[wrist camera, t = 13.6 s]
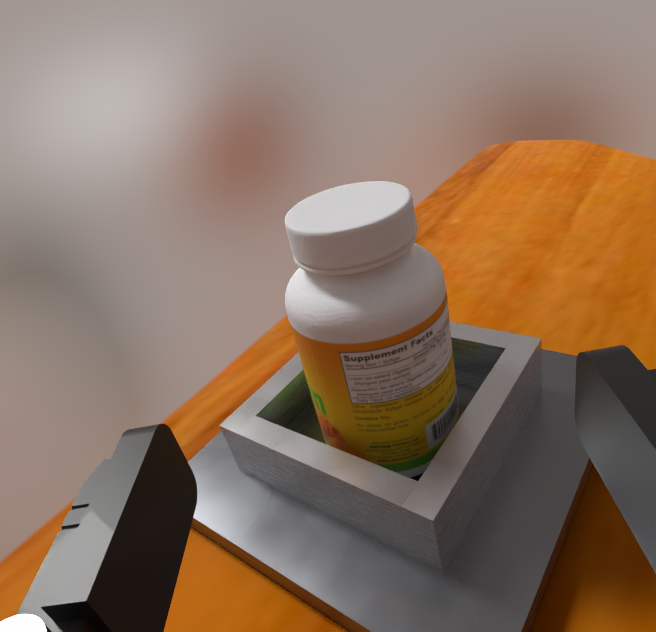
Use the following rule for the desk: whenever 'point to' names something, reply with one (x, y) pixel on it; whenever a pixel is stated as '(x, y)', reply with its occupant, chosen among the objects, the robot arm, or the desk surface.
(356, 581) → the socket plate
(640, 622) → the desk surface
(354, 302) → the supplement bottle
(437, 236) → the desk surface
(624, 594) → the desk surface
